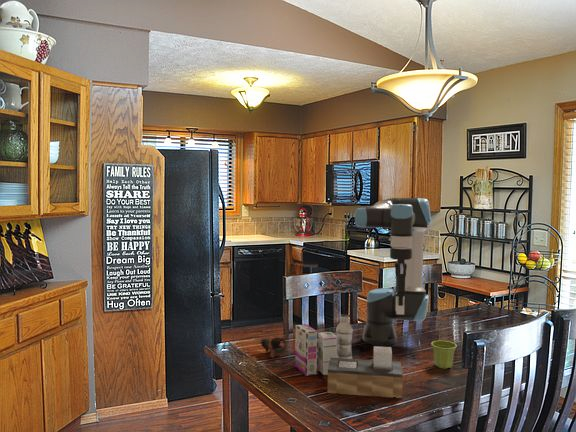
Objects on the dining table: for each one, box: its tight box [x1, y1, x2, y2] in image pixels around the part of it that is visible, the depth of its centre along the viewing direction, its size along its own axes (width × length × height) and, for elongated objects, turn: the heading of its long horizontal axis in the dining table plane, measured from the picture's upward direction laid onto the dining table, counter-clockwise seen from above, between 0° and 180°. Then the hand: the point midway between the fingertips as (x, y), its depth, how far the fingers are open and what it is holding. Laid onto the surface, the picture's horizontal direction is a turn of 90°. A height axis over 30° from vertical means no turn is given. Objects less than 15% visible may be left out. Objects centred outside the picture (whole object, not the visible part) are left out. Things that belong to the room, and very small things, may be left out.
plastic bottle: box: [335, 314, 354, 359], centre depth 193 cm, size 6×7×20 cm
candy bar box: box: [294, 323, 319, 377], centre depth 190 cm, size 11×5×16 cm, turn 22°
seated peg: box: [338, 361, 357, 369], centre depth 174 cm, size 6×6×8 cm
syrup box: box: [317, 331, 338, 376], centre depth 188 cm, size 6×6×14 cm
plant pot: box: [430, 340, 457, 370], centre depth 195 cm, size 9×9×9 cm
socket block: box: [327, 358, 404, 399], centre depth 173 cm, size 12×25×8 cm, turn 81°
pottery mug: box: [260, 336, 289, 359], centre depth 208 cm, size 12×10×8 cm
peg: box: [372, 345, 393, 371], centre depth 172 cm, size 6×6×8 cm
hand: (399, 312), depth 180 cm, fingers open, 4 cm apart
